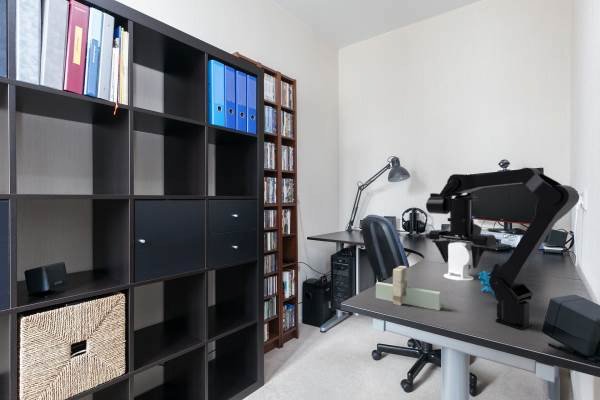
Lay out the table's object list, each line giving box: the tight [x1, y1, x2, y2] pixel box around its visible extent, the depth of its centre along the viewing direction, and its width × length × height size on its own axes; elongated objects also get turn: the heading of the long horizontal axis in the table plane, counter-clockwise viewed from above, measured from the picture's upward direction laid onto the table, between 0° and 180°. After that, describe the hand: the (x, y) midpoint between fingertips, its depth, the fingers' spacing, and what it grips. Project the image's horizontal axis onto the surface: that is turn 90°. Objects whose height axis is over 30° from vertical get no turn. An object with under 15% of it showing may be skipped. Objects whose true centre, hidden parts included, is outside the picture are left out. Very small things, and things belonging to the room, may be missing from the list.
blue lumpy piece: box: [478, 270, 495, 297], centre depth 111 cm, size 11×6×10 cm
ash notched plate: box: [392, 265, 408, 307], centre depth 102 cm, size 7×2×11 cm, turn 145°
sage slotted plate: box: [375, 281, 442, 311], centre depth 101 cm, size 20×2×5 cm, turn 55°
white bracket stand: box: [443, 240, 475, 282], centre depth 133 cm, size 12×11×15 cm
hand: (460, 265), depth 97 cm, fingers open, 9 cm apart
